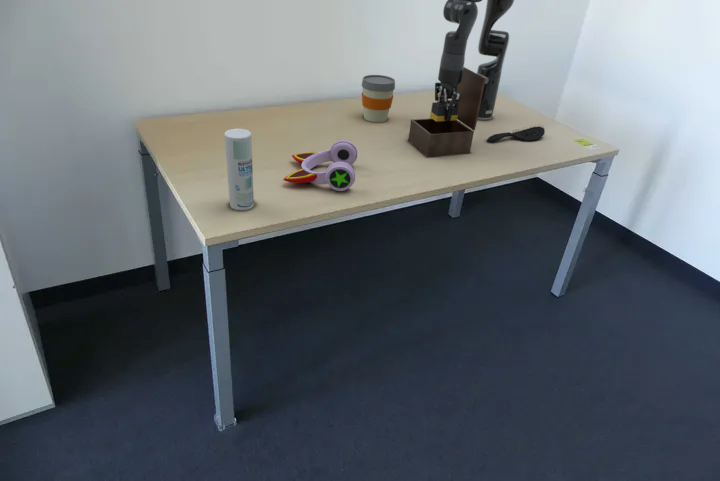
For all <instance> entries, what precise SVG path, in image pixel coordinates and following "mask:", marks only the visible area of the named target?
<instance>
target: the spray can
mask: <svg viewBox="0 0 720 481" xmlns="http://www.w3.org/2000/svg"><path fill="white" fill-rule="evenodd" d="M223 135H224V148H225V160H226V172H227V185H228V187H227V188H228V197H229V206H230V208H231V209H232V210H235V211H247V210H250V209H252V208H253V207H254V204H255V200H254V170H253V141H252V139H253V138H252V132H251V131H250V130H248V129H245V128H231V129H228V130H225V132H224V134H223Z"/></svg>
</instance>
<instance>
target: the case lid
mask: <svg viewBox="0 0 720 481" xmlns="http://www.w3.org/2000/svg"><path fill="white" fill-rule="evenodd" d="M488 81H489V79H488V78H487V77H485V76H483V75H481V74H479V73H477V72H475V71H473V70H470V69H469V68H467V67H465V66H464V67H463V73H462V79H461V82H460V83H459V84H458V85H457V92H458V93H461V94H462V96H461V99H460V102H459V105H458V106H459V108H458V114H457V115H458V117H457V120H458V121H459V122H461V123H462V124H464V125H465V126H467V127H468V128H469V129H471V130H472V131H476V128H477V123H478V119H477V118H478V113H479V109H480V104H481V99H482V94H483V89H484V84H486V83H488Z"/></svg>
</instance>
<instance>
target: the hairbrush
mask: <svg viewBox="0 0 720 481" xmlns="http://www.w3.org/2000/svg"><path fill="white" fill-rule="evenodd" d="M537 125H538V126H537ZM545 133H546V130H545V127H544V126H541V124H540V123H539V124H534V126H533V124H531V125H530V126H528V127H526V126H525V127H523V128H521V129H513V131H512V132H500V133H495V134H493V135H491V136H489V137H488V138H487V139H486V142H487V143H495V142H497V141H501V140H503V139H504V138H508V137H512V138H515V139H517V140H520V141H523V142H535V141H538V140H540V139H541V138H542V137H543V136H544V135H545Z"/></svg>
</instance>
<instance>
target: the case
mask: <svg viewBox="0 0 720 481" xmlns="http://www.w3.org/2000/svg"><path fill="white" fill-rule="evenodd" d="M474 133H475V130H472V129H471V128H469V127H468V126H466V125H465V124H463V123H462V122H460V121H459V120H458V119H457V120H452V121H438V122H436V121H435V120H433V119H432V118H430V117H428V118H415V119H410V123H409V131H408V139H407V141H408V142H409V143H410V144H411V145H412V146H414V147H415V148H416V149H417V150H418V151H419V152H421V153H422V154H423V155H424V156H425V157H426V158H432V157H434V158H435V157H441V156H442V157H443V156H454V155H463V154H470V153H471V149H472V143H473V138H474Z"/></svg>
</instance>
